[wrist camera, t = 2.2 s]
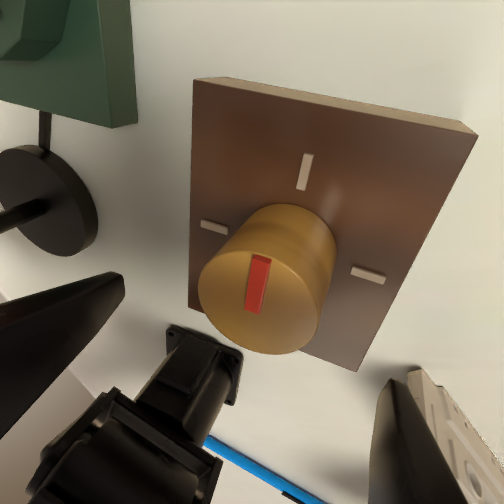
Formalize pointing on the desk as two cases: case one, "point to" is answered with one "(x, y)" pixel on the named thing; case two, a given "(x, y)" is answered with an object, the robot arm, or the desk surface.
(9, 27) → the switch block
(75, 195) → the desk lamp
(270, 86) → the dimmer panel
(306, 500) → the pen
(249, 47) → the desk surface
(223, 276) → the dimmer knob
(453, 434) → the cassette
